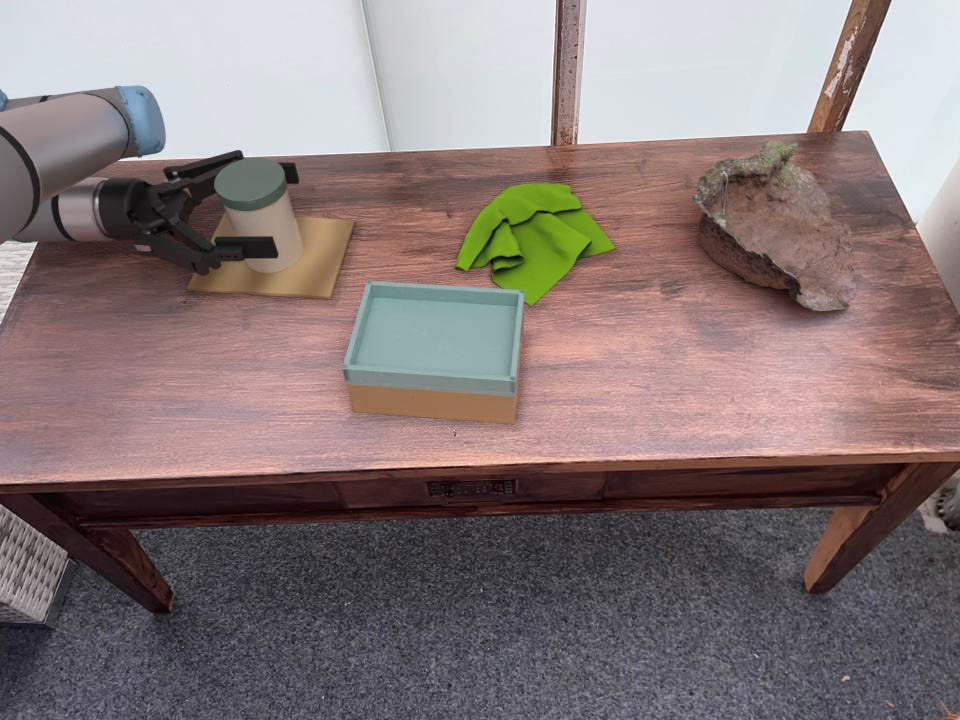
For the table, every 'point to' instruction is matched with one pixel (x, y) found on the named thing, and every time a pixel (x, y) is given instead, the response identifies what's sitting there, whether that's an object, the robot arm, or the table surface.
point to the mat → (300, 280)
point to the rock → (776, 228)
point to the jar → (261, 209)
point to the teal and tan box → (436, 352)
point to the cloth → (532, 238)
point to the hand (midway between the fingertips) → (286, 208)
